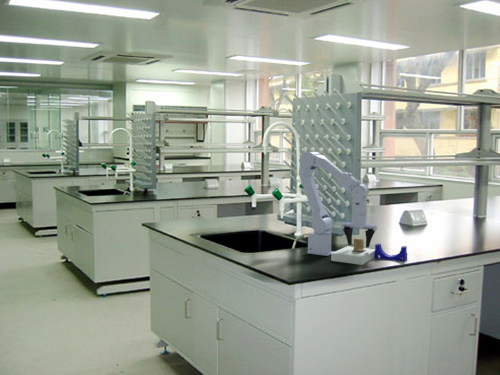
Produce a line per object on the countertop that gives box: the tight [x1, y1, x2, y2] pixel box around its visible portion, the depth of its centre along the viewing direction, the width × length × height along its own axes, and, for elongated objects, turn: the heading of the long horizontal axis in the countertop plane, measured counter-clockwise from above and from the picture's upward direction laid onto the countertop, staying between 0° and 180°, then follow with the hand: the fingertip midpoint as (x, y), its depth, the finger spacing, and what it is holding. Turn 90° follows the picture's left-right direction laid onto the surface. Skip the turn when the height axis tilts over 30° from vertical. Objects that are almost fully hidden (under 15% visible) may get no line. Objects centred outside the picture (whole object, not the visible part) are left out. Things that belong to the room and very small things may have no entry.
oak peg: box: [353, 237, 365, 253], centre depth 206 cm, size 4×4×8 cm
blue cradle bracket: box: [374, 242, 408, 263], centre depth 205 cm, size 12×4×6 cm, turn 60°
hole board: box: [330, 245, 376, 266], centre depth 206 cm, size 13×17×3 cm
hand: (358, 246), depth 206 cm, fingers open, 7 cm apart
